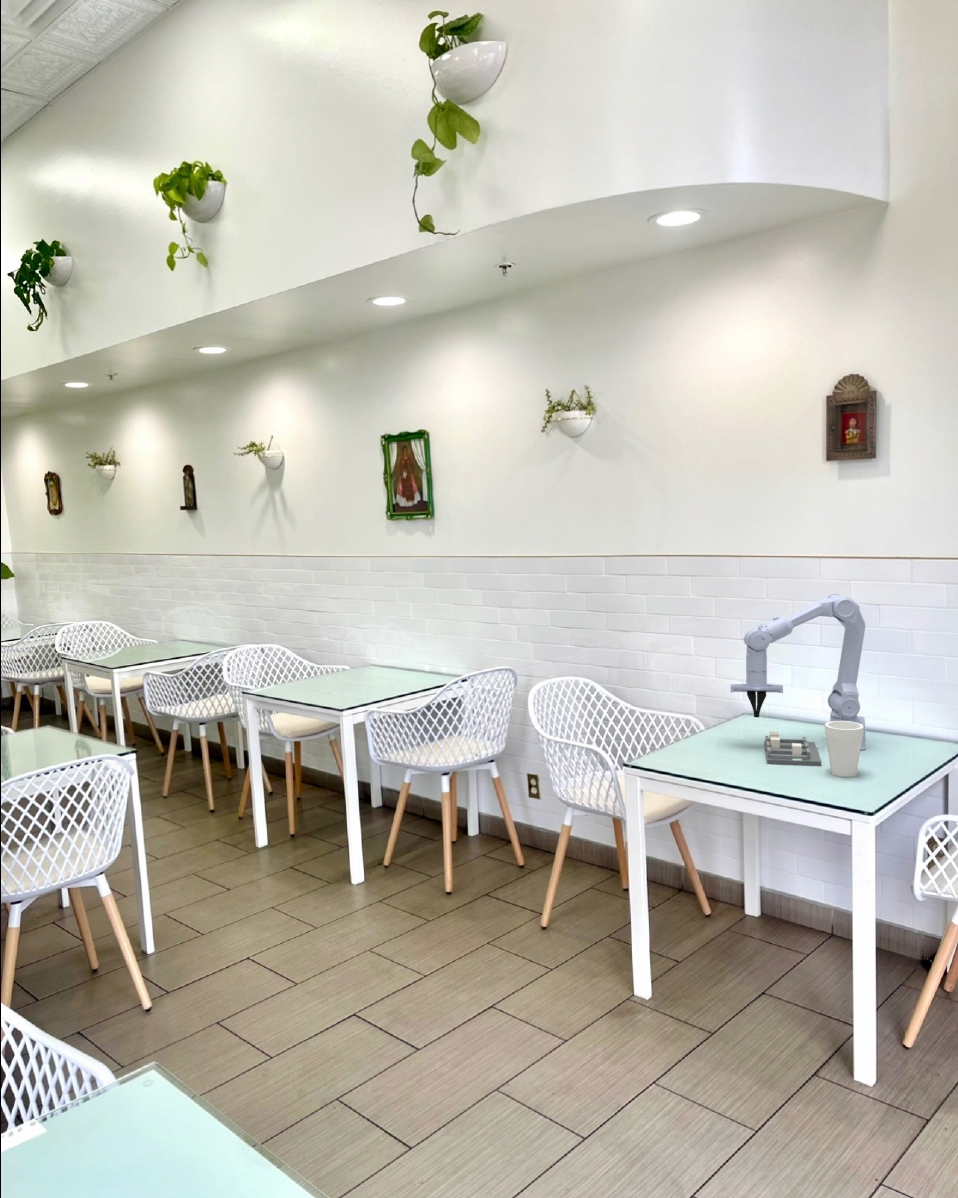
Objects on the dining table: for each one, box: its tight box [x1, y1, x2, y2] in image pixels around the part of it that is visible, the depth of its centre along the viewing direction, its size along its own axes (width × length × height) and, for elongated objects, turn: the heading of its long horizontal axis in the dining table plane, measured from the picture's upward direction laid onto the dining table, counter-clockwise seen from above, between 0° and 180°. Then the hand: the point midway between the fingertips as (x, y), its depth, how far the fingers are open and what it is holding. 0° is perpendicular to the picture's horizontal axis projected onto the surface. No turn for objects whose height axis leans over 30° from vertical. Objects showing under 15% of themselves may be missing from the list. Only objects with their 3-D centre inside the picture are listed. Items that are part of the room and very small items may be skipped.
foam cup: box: [824, 721, 864, 778], centre depth 248 cm, size 10×9×13 cm
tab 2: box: [770, 737, 781, 749], centre depth 268 cm, size 2×3×3 cm
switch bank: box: [764, 735, 822, 767], centre depth 267 cm, size 14×20×3 cm
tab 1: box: [768, 731, 780, 743], centre depth 274 cm, size 2×3×3 cm
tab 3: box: [792, 743, 802, 755], centre depth 261 cm, size 2×3×3 cm
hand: (756, 716), depth 274 cm, fingers closed
